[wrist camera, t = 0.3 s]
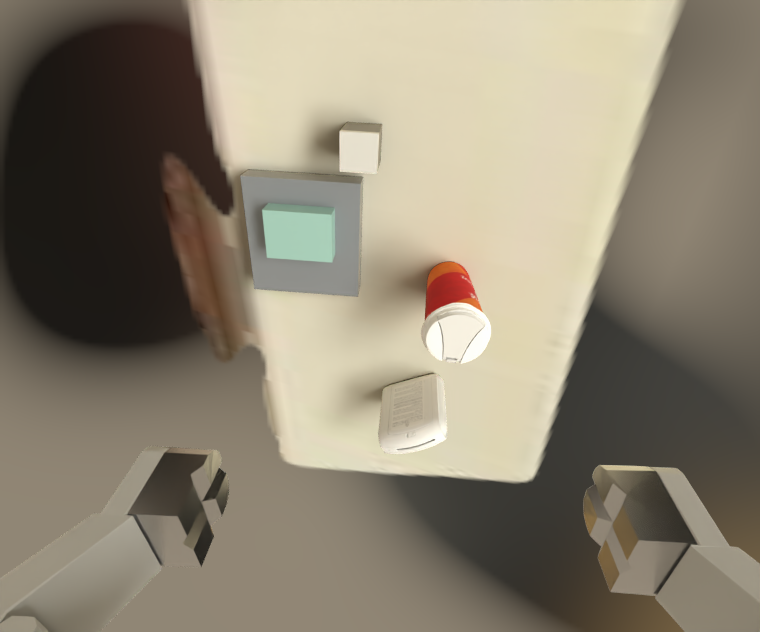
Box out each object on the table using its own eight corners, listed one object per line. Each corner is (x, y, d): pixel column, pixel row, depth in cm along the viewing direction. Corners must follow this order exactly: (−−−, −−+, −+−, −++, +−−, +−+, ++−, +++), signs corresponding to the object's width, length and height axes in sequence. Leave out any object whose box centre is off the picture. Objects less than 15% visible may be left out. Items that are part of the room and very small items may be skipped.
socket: (248, 169, 52) (240, 175, 49) (363, 177, 52) (360, 183, 49) (261, 278, 60) (254, 288, 58) (360, 285, 60) (357, 296, 57)
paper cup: (469, 307, 60) (483, 371, 49) (415, 300, 60) (416, 362, 49) (482, 257, 56) (501, 314, 44) (425, 249, 56) (428, 304, 44)
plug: (347, 122, 48) (339, 131, 43) (382, 124, 48) (378, 133, 43) (346, 158, 51) (339, 171, 46) (380, 160, 50) (376, 174, 45)
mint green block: (268, 202, 51) (262, 210, 49) (334, 207, 51) (331, 214, 49) (272, 249, 54) (267, 257, 52) (335, 254, 54) (332, 262, 52)
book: (388, 404, 72) (384, 465, 61) (378, 386, 70) (372, 446, 59) (447, 388, 69) (453, 449, 59) (438, 369, 67) (443, 429, 56)
